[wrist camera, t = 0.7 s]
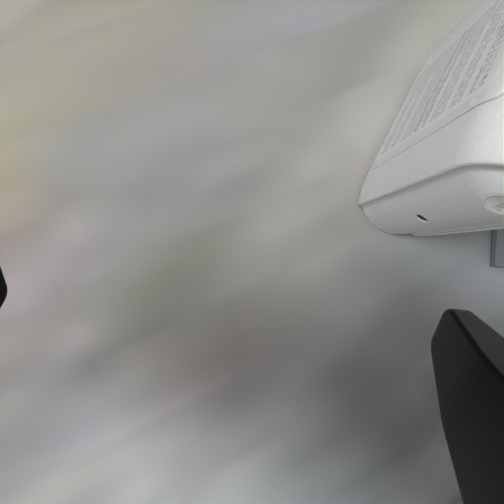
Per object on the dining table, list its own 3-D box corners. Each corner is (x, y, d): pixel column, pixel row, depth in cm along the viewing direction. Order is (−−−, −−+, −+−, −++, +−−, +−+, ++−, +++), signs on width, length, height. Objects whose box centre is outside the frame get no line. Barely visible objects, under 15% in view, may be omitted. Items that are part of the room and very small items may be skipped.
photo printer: (415, 252, 21) (673, 239, 9) (342, 213, 21) (501, 145, 9) (501, 78, 22) (862, -164, 9) (430, 39, 21) (701, -260, 9)
